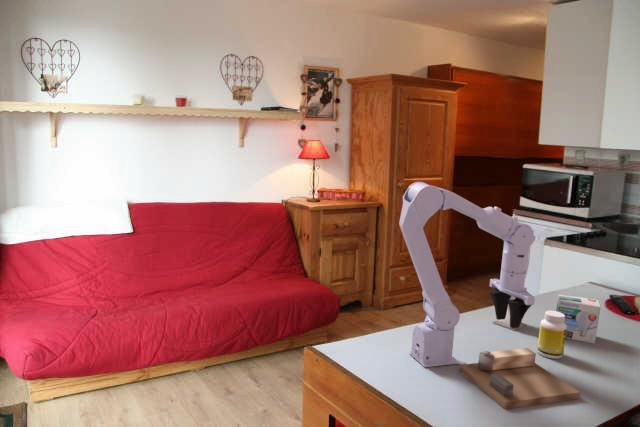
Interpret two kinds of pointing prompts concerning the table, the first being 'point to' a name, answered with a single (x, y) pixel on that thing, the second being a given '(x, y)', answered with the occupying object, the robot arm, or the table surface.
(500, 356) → the folding leg
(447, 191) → the robot arm
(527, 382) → the stool seat
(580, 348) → the table surface
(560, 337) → the pill bottle
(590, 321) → the light bulb box
